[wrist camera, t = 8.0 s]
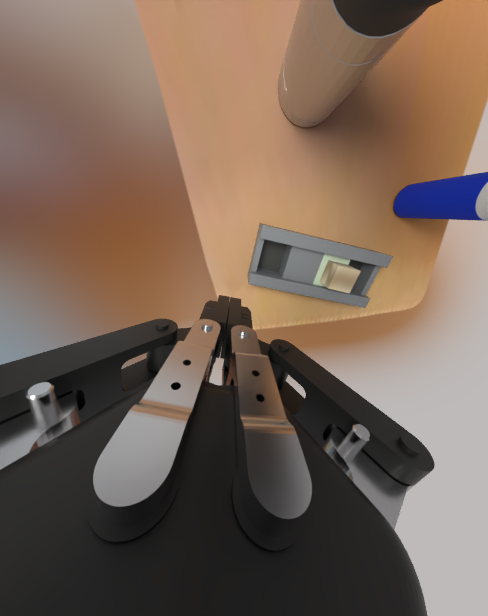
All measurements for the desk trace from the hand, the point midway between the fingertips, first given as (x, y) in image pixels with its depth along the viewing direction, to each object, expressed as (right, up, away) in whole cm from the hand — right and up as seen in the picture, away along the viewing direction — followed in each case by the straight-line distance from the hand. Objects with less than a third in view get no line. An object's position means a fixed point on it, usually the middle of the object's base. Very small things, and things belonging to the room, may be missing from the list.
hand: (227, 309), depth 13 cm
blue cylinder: (+30, +19, +22) cm, 41 cm away
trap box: (+14, +9, +26) cm, 31 cm away
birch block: (+18, +6, +23) cm, 30 cm away
